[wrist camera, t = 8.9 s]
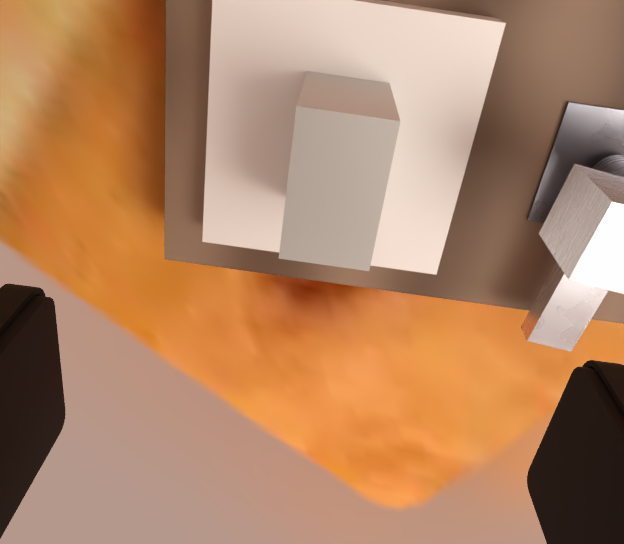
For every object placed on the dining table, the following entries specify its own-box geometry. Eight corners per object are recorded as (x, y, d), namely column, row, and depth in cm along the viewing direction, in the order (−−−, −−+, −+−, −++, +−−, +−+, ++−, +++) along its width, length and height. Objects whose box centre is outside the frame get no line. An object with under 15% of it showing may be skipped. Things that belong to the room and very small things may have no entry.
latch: (531, 120, 22) (612, 201, 16) (722, 173, 23) (881, 274, 16) (451, 295, 26) (488, 421, 20) (615, 337, 27) (706, 473, 20)
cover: (496, 17, 21) (549, 47, 16) (431, 257, 26) (454, 346, 21) (221, -24, 21) (175, -9, 15) (209, 226, 26) (171, 306, 20)
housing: (778, -4, 24) (855, 7, 20) (638, 286, 31) (677, 333, 27) (193, -93, 23) (164, -98, 20) (185, 222, 30) (163, 261, 27)
